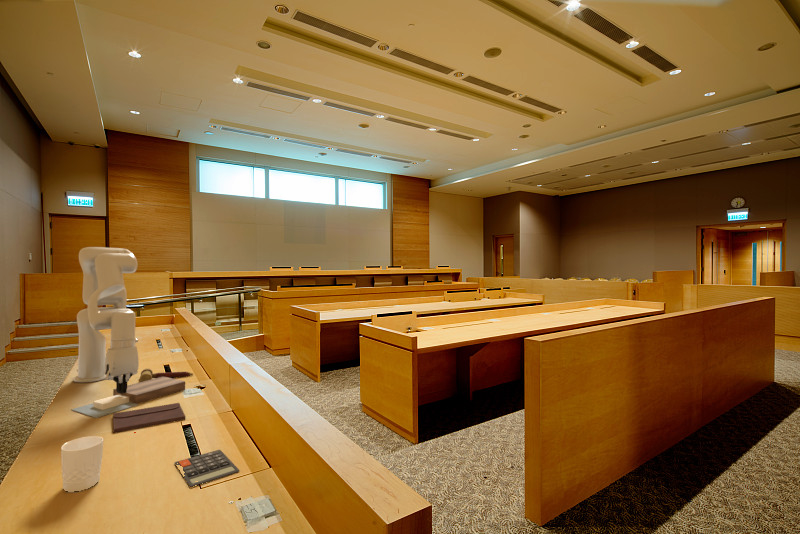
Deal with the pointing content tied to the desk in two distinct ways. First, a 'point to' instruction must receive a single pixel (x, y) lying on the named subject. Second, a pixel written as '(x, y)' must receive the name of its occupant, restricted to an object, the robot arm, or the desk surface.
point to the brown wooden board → (152, 389)
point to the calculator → (207, 467)
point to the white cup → (81, 463)
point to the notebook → (147, 417)
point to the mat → (97, 412)
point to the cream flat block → (110, 401)
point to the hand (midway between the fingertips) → (121, 392)
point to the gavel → (161, 375)
